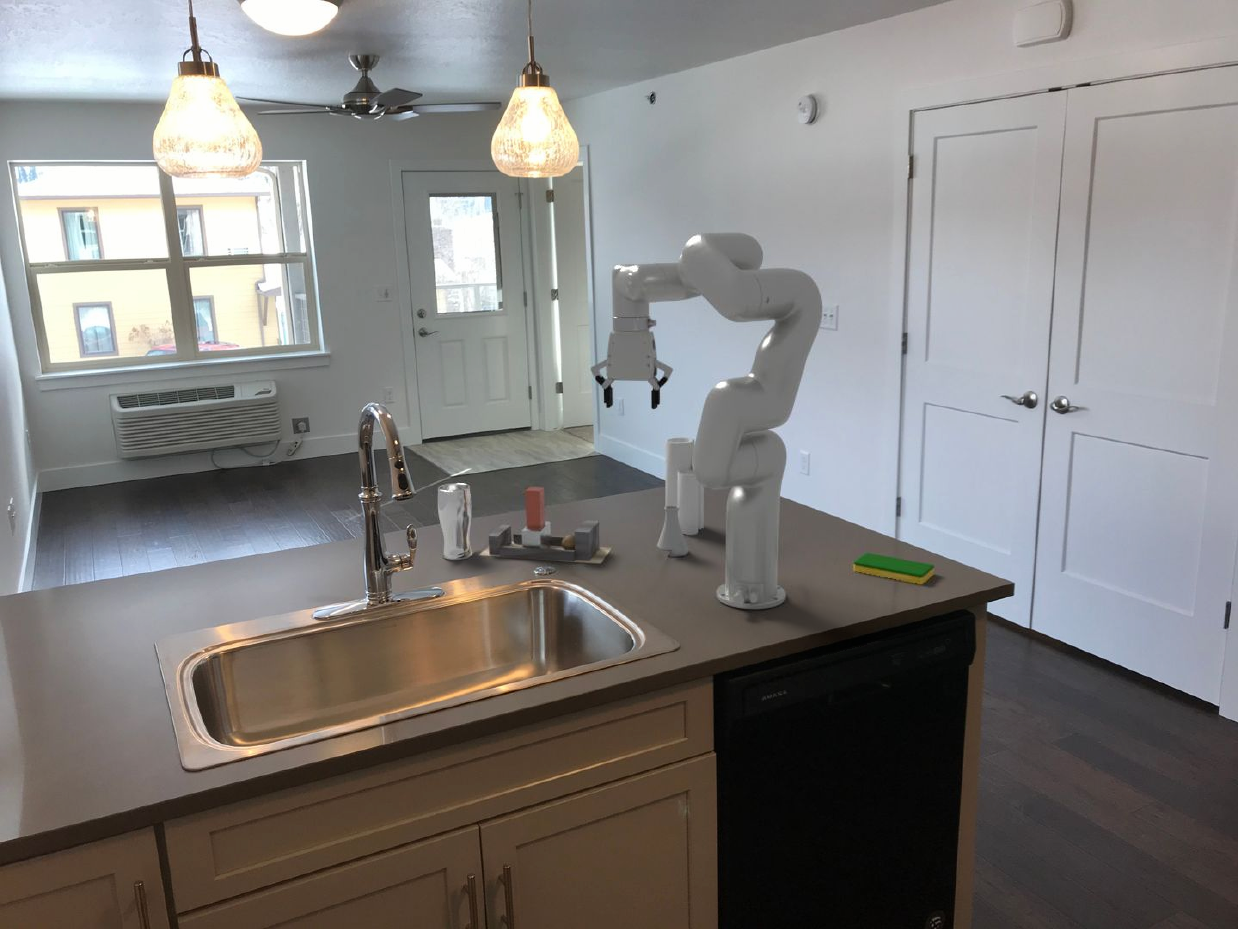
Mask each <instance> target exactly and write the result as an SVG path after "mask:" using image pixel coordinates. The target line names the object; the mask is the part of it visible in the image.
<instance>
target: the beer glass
mask: <svg viewBox="0 0 1238 929" xmlns="http://www.w3.org/2000/svg"><path fill="white" fill-rule="evenodd" d="M437 512H438V517H439V522H440V527H441V530H442V534H443V551H442V556H443V558H444V559H445V560H447V561H462V560H466V559H469V558H470V557H471V556H472V555H473V552H472V547H471V542H470V533H471V524H472V523H471V522H472V515H473V514H472V513H473V505H472V495H471V486H470V485H469V484H467V483H459V482H458V483H457V482H456V483H455V482H454V483H446V484H442V485H439V486H438V487H437Z"/></svg>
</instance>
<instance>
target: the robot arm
mask: <svg viewBox="0 0 1238 929" xmlns="http://www.w3.org/2000/svg"><path fill="white" fill-rule="evenodd" d="M763 261H764V253H763V249H762V246H761V244H760V243H759V241H758V240H757V239H756V238H754V237H753V236H751V235H749V234H747V233H743V232H703V233H698V234H696V235H694V236H692V237H691V238H690V239H688V241H687V242H686V243H685V245H684V247H683V249H682V251H681V254H680V256H679V259H678V262H662V263H660V262H659V263H637V264H636V263H623V264H622V263H621V264H616V265H615V266H614V267H613V268H612V270H611V287H612V288H611V289H612V290H611V291H612V293H611V296H612V298H611V299H612V331H610V332H609V336H608V342H607V351H606V358H605V360H603V361H601V362H599V363H597V364H595V365H593V366H591V367H590V371H591V374H592V375H593V377H594V378H595V381H596V382H597V383H598V384H599V385H600V386H601V388H602V389H603V404H605V407H606V409H609V408H611V407H612V406H613V405H614V390H613V389H614V388H613V387H612V383H614V382H615V381H621V382H622V381H625V382H628V381H629V382H648V383H649V384H650V386H651V387H652V390H651V391H650V395H651V396H650V399H651V401H650V403H651V405H650V408H651V409H652V410H656V409H657V408H658V406H659V405H661V388H662V387H663V386H664V385H666V383H667V382H668V381H669V380H670V378H671V375H672V373H673V371H674V370H673V369H674V368H673V367H671V366H669V365H668V364H666V363H664V362H662V361H660V360H658V357H657V347H656V346H657V345H656V338H655V334H654V331H651V330H650V329H651V328H653V327H657V320H656V319H652V318H651V316H650V303H651V304H652V303H662V302H680V301H686V300H691V299H694V298H697V297H701V296H702V297H703V298H704V299H705V301H707V302H708V303H709V304H710V305H711V306H712V308H714V310H716V311H717V313H719V314H720V315H721V316H722V317H723V318H724V319H727V320H728V321H731V322H734V323H748V322H749V323H750V322H761V321H762V322H763V321H765V322H766V321H774V324H773V326H772V327H771V328H770V329H769V331H767V333H766V334H765V335H764V337H763V338H762V340H761V341H760V343H759V345H758V347H757V348H756V351H755V355H754V360H753V363H752V367H751V369H750V371H749V373H748V374H747V375H745V376H741V377H739V376H738V377H733V378H727V379H724V380H721V381H720V382H718V383H716V384H715V385H714V386H713V387H712V388H711V389H710V391H709V393H708V394H707V396H706V398H705V401H704V404H703V407H702V413H701V417H700V421H699V425H698V428H697V433H696V437H695V440H694V450H693V457H692V465H693V471H694V475H695V477H696V479H697V481H698V482H699V483H700V484H701V485H702V486H704V489H705V488H706V489H708V490H713V491H714V490H724V489H730V488H731V489H730V491H729V493H728V496H727V500H726V508H725V566H724V567H725V573H724V574H725V578H724V581H725V582H724V583H722V584H721V585H719V586H718V587H717V588H716V598H717V600H718V601H719V602H721V603H723V604H724V605H726V606H729V607H733V608H738V609H744V610H764V609H765V610H766V609H772V608H774V607H777V606H779V605H781V604H782V603H784V602H785V600H786V591H785V590H784V588H782V587H781V586H779V585H778V572H779V571H778V566H779V565H778V564H779V531H780V530H779V529H780V528H779V526H780V525H779V524H780V522H779V521H780V504H781V503H780V502H781V500H780V499H781V490H782V484H783V479H784V475H785V474H784V473H785V470H786V464H787V457H788V455H787V449H786V448H787V447H786V445H785V442H784V441H783V439H782V437H781V436H780V435H779V434H778V433H776V432H775V431H773V430H772V429H775V428H779V427H781V426H783V425H786V423H787V422H788V421H789V419H790V417H791V415H792V411H793V409H794V405H795V403H796V398H797V395H798V392H799V387H800V384H801V382H802V378H803V374H804V370H805V366H806V363H807V360H808V357H809V355H810V352H811V349H812V348H813V345H814V342H815V340H816V338H817V335H818V332H819V331H820V330H819V329H820V326H821V323H822V318H823V300H822V294H821V293H820V289H819V287H818V285H817V283H816V282H815V281H814V278H812V277H811V275H809V274H807V273H805V272H804V271H802V270H800V269H795V268H794V269H793V268H788V267H787V268H785V267H781V268H780V267H777V268H776V267H775V268H761V267H762V264H763ZM760 268H761V269H760ZM604 368H605V370H606V377H607V378H605V377H604V376H603V375H602V374H601V371H600V370H602V369H604ZM658 369H659V370H660V371H662V372H663V375H662V377H661V379H659V378H657V374H658Z"/></svg>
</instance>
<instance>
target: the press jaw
mask: <svg viewBox="0 0 1238 929" xmlns="http://www.w3.org/2000/svg"><path fill="white" fill-rule="evenodd" d="M525 505H526V506H525V510H526V511H525V512H526V513H525V515H526V526H524V528H523V529H522V530H521V533H522V547H530V548H546V549H547V548H548V547H549V546H550V545H551V535H552V532H551V531H552V529H551V527H552V526H551V521H546V512H545V511H546V510H545V509H546V507H545V505H546V504H545V487H541V486H540V487H539V486H530V487H528V488H527V489H526V490H525Z"/></svg>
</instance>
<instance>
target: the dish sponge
mask: <svg viewBox="0 0 1238 929" xmlns="http://www.w3.org/2000/svg"><path fill="white" fill-rule="evenodd" d="M934 567H935V566H934V564H930V563H924V562H920V561H914V560H908V559H903V558H898V557H891V556H888V555H887V556H886V555H882V554H876V553H872V552H871V553H870V552H865V553H864V554H863V555H862V556H860V557H859V558H857V559H856V560H854V562H853V570H854V571H857V572H856V573H859V572H862V573H861V574H864V573H866V574H865V575H869V574H871V575H870V576H874V575H876V576H875V577H879V576H880V577H879V578H884V577H888V578H887V579H889V578H893V579H892V580H894V579H896V580H895V581H899V580H901V582H904V583H905V582H906V583H911V584H915V583H917V585H920V584H921V585H923V583H924V584H925V583H926V582H927V581H928V580H929V579H931V577H932V576H934V572H935V569H934ZM854 571H853V572H854Z"/></svg>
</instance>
